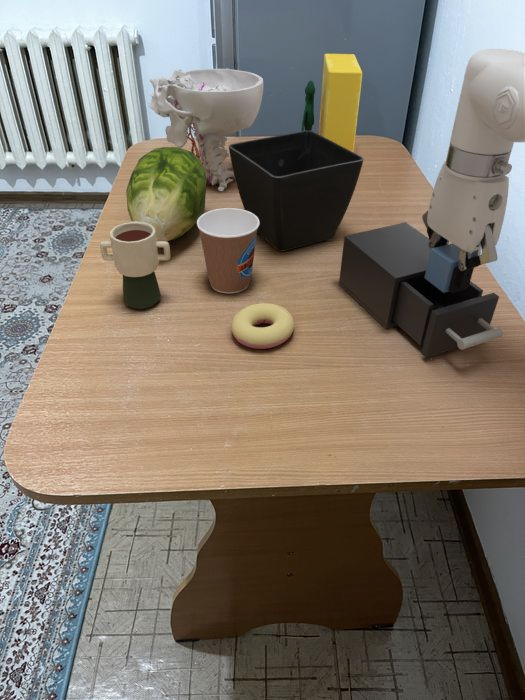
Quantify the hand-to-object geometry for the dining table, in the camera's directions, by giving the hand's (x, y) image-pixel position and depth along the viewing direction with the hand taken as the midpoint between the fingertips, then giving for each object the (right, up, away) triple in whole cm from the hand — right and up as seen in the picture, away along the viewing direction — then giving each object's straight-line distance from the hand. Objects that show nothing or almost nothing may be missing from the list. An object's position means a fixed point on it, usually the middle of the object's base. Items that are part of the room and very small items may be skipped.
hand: (446, 280), depth 84 cm
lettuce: (-46, +13, +31) cm, 57 cm away
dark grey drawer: (0, -7, +5) cm, 9 cm away
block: (0, 0, 0) cm, 0 cm away
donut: (-27, -8, +6) cm, 29 cm away
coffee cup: (-33, +1, +17) cm, 37 cm away
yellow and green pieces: (-12, +37, +61) cm, 72 cm away
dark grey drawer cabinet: (-5, -1, +14) cm, 15 cm away
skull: (-40, +29, +51) cm, 71 cm away
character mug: (-48, -2, +12) cm, 49 cm away
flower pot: (-22, +13, +32) cm, 41 cm away
